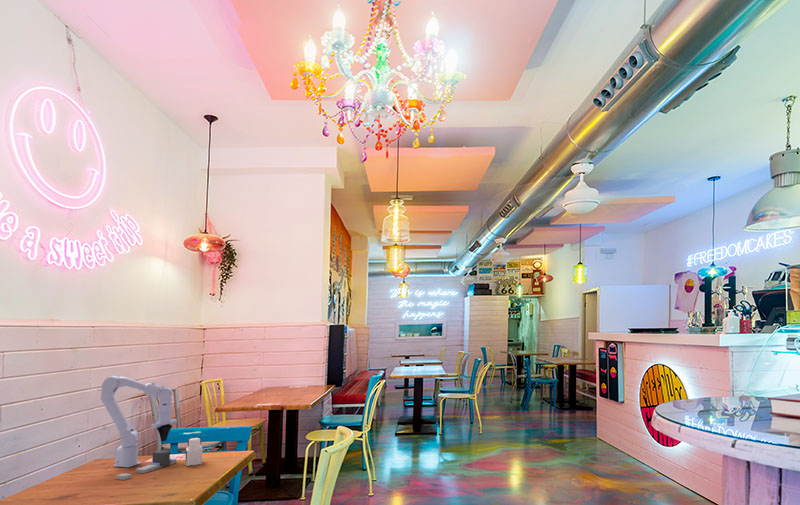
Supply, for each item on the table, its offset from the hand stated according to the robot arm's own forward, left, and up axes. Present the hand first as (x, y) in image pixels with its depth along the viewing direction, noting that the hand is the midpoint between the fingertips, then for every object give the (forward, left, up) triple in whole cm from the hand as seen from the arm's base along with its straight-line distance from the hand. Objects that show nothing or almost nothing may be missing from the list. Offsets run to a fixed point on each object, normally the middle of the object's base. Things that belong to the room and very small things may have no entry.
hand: (163, 440), depth 247 cm
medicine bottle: (+18, +1, -10) cm, 21 cm away
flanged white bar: (+5, -14, -10) cm, 18 cm away
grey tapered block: (+5, -6, -10) cm, 12 cm away
